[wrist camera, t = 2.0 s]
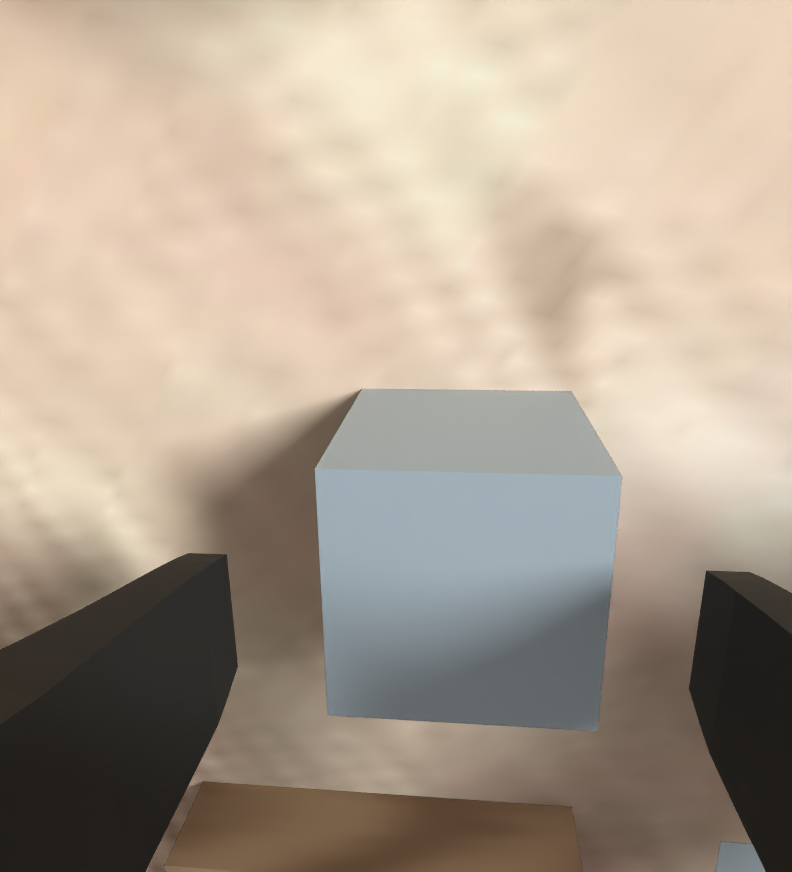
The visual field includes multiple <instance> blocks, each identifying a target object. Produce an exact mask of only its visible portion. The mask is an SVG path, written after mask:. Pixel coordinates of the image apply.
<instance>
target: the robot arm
mask: <svg viewBox="0 0 792 872" xmlns="http://www.w3.org/2000/svg"><path fill="white" fill-rule="evenodd" d="M237 667H238V664H237V654H236V644H235V634H234V624H233V614H232V604H231V594H230V584H229V574H228V564H227V555H225V554H195V553H188V554H186V555H183V556H181V557H178V558H176V559H174V560H172V561H170V562H168V563H166V564H164V565H162V566H160V567H158V568H156V569H154V570H153V571H151V572H149V573H147V574H145V575H143V576H141V577H140V578H138V579H136V580H134V581H132V582H131V583H129V584H127V585H125V586H123V587H121V588H120V589H118V590H116V591H114V592H112V593H110V594H109V595H107V596H105V597H103V598H101V599H100V600H98V601H96V602H94V603H92V604H90V605H89V606H87V607H85V608H83V609H81V610H79V611H77V612H75V613H73V614H71V615H69V616H67V617H65V618H63V619H61V620H59V621H57V622H55V623H53V624H51V625H49V626H47V627H45V628H44V629H42V630H40V631H38V632H36V633H34V634H32V635H30V636H28V637H26V638H24V639H22V640H20V641H18V642H16V643H14V644H11V645H9V646H7V647H5V648H3V649H1V650H0V872H145V871H146V869H147V867H148V865H149V863H150V861H151V859H152V857H153V855H154V853H155V851H156V849H157V847H158V845H159V843H160V841H161V839H162V837H163V835H164V833H165V831H166V829H167V827H168V825H169V823H170V821H171V819H172V817H173V815H174V813H175V811H176V809H177V807H178V805H179V803H180V801H181V799H182V797H183V795H184V793H185V791H186V789H187V787H188V785H189V783H190V781H191V779H192V777H193V775H194V773H195V771H196V769H197V767H198V765H199V763H200V761H201V759H202V757H203V755H204V753H205V751H206V749H207V747H208V744H209V742H210V740H211V738H212V736H213V734H214V732H215V730H216V728H217V726H218V723H219V720H220V718H221V715H222V712H223V709H224V706H225V704H226V701H227V698H228V695H229V692H230V689H231V686H232V682H233V679H234V676H235V673H236V670H237ZM689 690H690V693H691V697H692V700H693V703H694V706H695V710H696V713H697V716H698V720H699V723H700V726H701V729H702V732H703V735H704V738H705V741H706V744H707V747H708V750H709V753H710V755H711V757H712V759H713V762H714V764H715V766H716V768H717V770H718V772H719V775H720V777H721V779H722V781H723V783H724V785H725V787H726V790H727V792H728V794H729V796H730V798H731V800H732V802H733V804H734V807H735V809H736V811H737V813H738V815H739V817H740V819H741V821H742V823H743V825H744V828H745V830H746V832H747V834H748V836H749V838H750V840H751V842H752V844H753V846H754V848H755V850H756V853H757V855H758V857H759V859H760V861H761V863H762V865H763V867H764V869H765V871H766V872H792V593H790V592H788V591H786V590H785V589H783V588H781V587H779V586H777V585H775V584H774V583H772V582H770V581H768V580H766V579H764V578H762V577H760V576H757V575H755V574H753V573H750V572H727V571H706V575H705V582H704V589H703V596H702V603H701V610H700V617H699V623H698V630H697V637H696V644H695V651H694V658H693V665H692V672H691V679H690V685H689Z"/></svg>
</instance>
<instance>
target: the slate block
mask: <svg viewBox="0 0 792 872" xmlns="http://www.w3.org/2000/svg"><path fill="white" fill-rule="evenodd" d="M315 483H316V502H317V521H318V540H319V559H320V578H321V597H322V616H323V635H324V654H325V673H326V692H327V711H328V715H330V716H347V717H364V718H381V719H398V720H415V721H432V722H449V723H466V724H483V725H500V726H517V727H534V728H551V729H568V730H585V731H597V730H598V720H599V709H600V699H601V689H602V679H603V668H604V658H605V648H606V638H607V627H608V617H609V607H610V597H611V586H612V576H613V566H614V556H615V545H616V535H617V525H618V515H619V504H620V494H621V484H622V475H621V473H620V472H619V470H618V468H617V467H616V465H615V463H614V461H613V460H612V458H611V456H610V455H609V453H608V451H607V450H606V448H605V446H604V445H603V443H602V441H601V440H600V438H599V436H598V435H597V433H596V431H595V430H594V428H593V426H592V425H591V423H590V421H589V420H588V418H587V416H586V415H585V413H584V411H583V410H582V408H581V406H580V405H579V403H578V401H577V400H576V398H575V396H574V395H573V393H572V391H505V390H422V389H362V390H361V392H360V393H359V395H358V397H357V398H356V400H355V402H354V403H353V405H352V407H351V408H350V410H349V412H348V414H347V415H346V417H345V419H344V420H343V422H342V424H341V425H340V427H339V429H338V430H337V432H336V434H335V436H334V437H333V439H332V441H331V442H330V444H329V446H328V447H327V449H326V451H325V452H324V454H323V456H322V458H321V459H320V461H319V463H318V464H317V466H316V468H315Z"/></svg>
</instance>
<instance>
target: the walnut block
mask: <svg viewBox="0 0 792 872" xmlns="http://www.w3.org/2000/svg"><path fill="white" fill-rule="evenodd" d="M165 871H166V872H583V869H582V863H581V857H580V852H579V846H578V841H577V835H576V829H575V824H574V818H573V812H572V807H565V806H550V805H536V804H521V803H507V802H492V801H478V800H463V799H449V798H434V797H420V796H405V795H391V794H376V793H362V792H347V791H333V790H318V789H304V788H289V787H275V786H260V785H246V784H231V783H217V782H203V784H202V786H201V788H200V790H199V792H198V795H197V797H196V799H195V801H194V803H193V805H192V808H191V810H190V812H189V814H188V816H187V818H186V820H185V823H184V825H183V827H182V829H181V831H180V833H179V836H178V838H177V840H176V842H175V844H174V846H173V848H172V851H171V853H170V855H169V857H168V859H167V861H166V864H165Z"/></svg>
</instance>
